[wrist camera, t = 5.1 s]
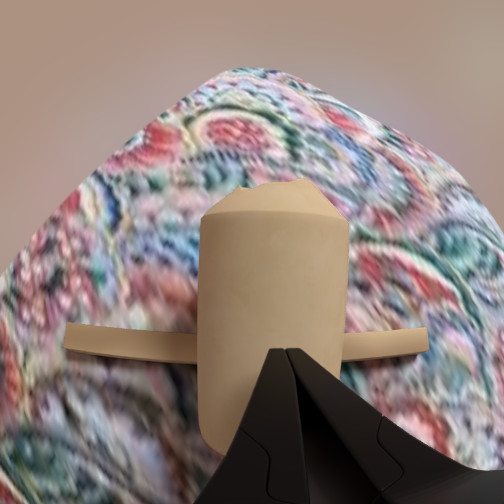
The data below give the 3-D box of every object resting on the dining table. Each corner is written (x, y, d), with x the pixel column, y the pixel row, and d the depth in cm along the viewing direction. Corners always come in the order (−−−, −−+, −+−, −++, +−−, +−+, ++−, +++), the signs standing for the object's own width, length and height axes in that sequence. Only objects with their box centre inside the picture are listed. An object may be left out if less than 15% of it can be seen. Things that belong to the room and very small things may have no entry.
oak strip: (418, 353, 16) (429, 350, 15) (73, 351, 14) (63, 347, 13) (415, 331, 17) (426, 327, 16) (75, 327, 15) (66, 322, 14)
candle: (171, 431, 11) (172, 176, 11) (248, 393, 15) (255, 201, 16) (292, 485, 8) (314, 152, 8) (348, 418, 12) (364, 194, 12)
